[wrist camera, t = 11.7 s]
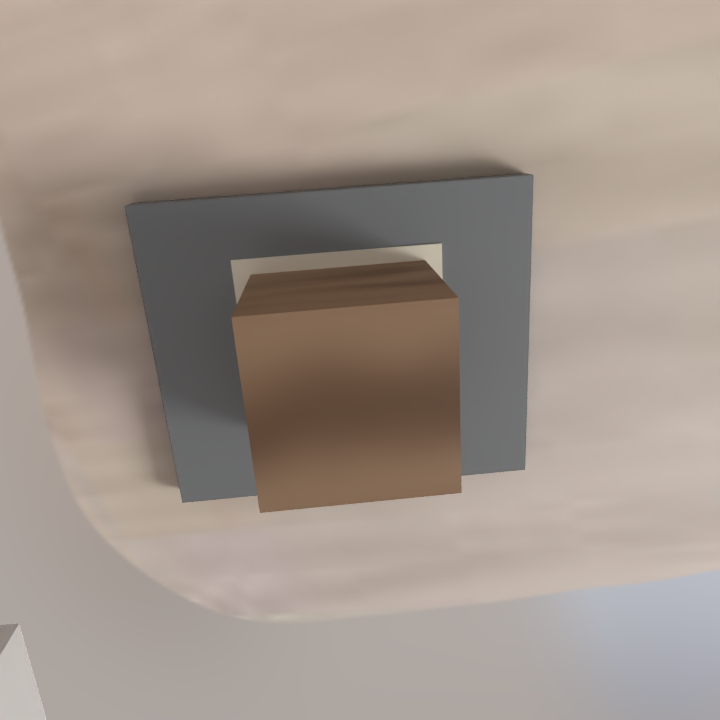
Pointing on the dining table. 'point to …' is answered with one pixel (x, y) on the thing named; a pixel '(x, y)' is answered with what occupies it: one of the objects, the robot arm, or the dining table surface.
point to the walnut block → (350, 384)
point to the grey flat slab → (330, 250)
